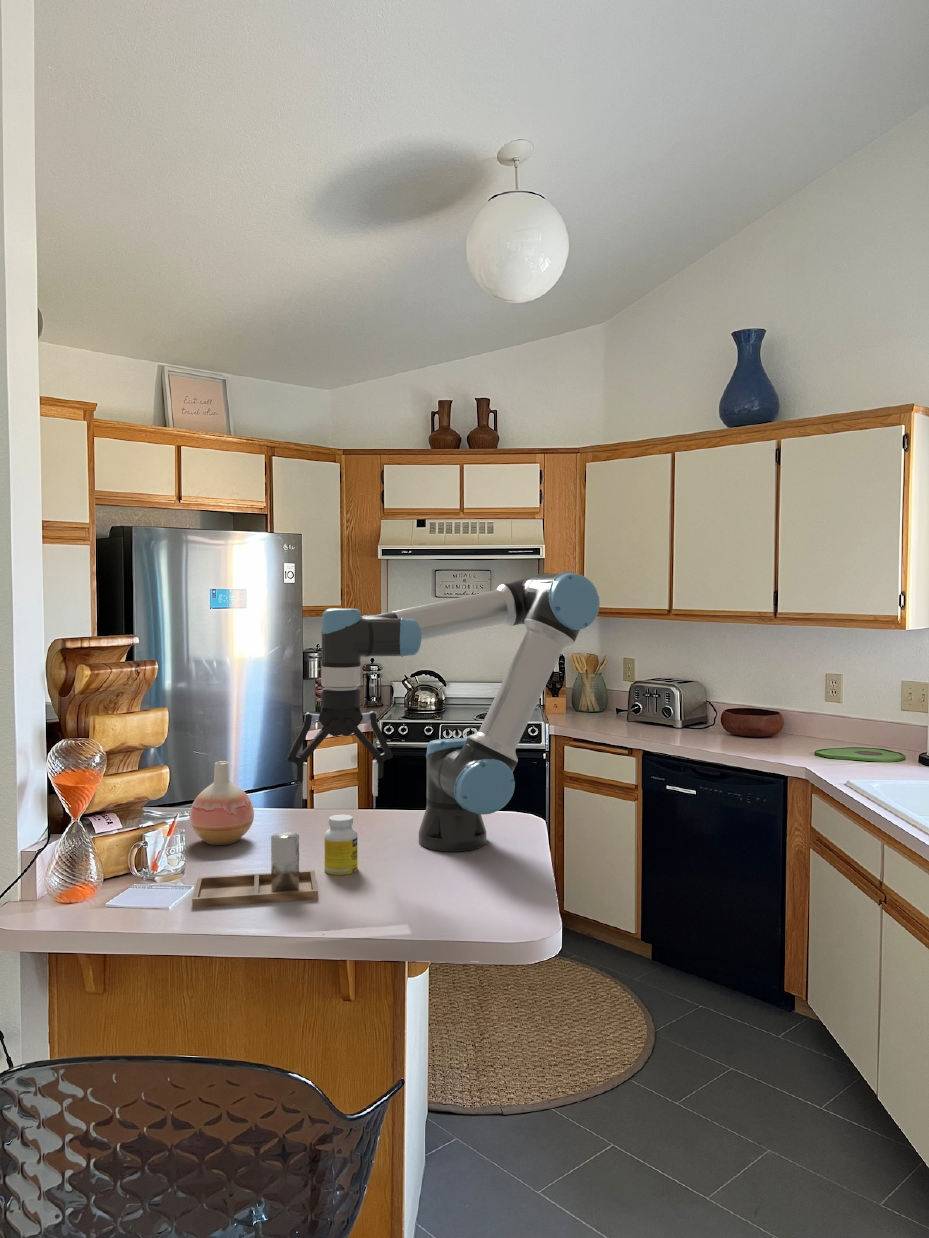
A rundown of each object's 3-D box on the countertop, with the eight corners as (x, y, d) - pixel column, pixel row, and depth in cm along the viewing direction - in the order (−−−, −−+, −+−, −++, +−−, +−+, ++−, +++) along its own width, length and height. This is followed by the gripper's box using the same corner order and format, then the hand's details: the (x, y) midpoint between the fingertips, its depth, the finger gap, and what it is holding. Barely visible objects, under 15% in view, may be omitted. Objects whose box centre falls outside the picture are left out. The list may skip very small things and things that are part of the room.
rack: (314, 883, 169) (314, 869, 169) (317, 905, 158) (317, 890, 158) (197, 891, 165) (197, 877, 165) (192, 914, 153) (192, 899, 153)
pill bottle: (351, 882, 170) (351, 822, 170) (319, 880, 171) (319, 820, 171) (361, 871, 177) (362, 814, 176) (331, 869, 178) (331, 812, 177)
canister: (298, 884, 165) (298, 831, 165) (299, 893, 160) (299, 839, 160) (271, 886, 164) (271, 832, 164) (271, 895, 159) (271, 840, 159)
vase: (220, 854, 187) (220, 771, 186) (176, 844, 194) (175, 764, 193) (266, 838, 198) (266, 760, 198) (223, 829, 206) (223, 753, 205)
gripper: (401, 684, 179) (400, 788, 180) (275, 686, 173) (274, 793, 174) (407, 689, 171) (406, 797, 172) (275, 691, 166) (275, 803, 167)
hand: (340, 796), depth 173 cm, fingers open, 13 cm apart
